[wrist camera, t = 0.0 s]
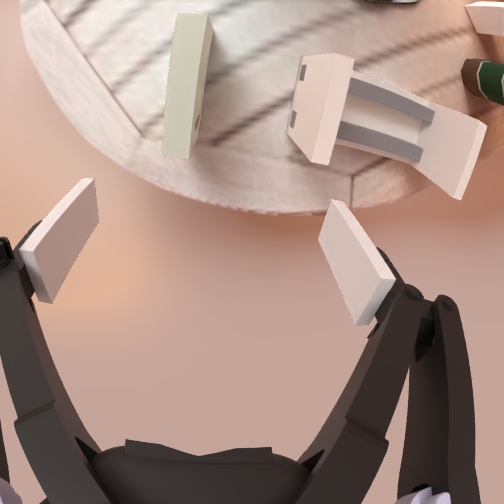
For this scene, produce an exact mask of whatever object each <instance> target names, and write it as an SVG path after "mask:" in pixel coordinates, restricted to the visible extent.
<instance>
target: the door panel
mask: <svg viewBox="0 0 504 504" xmlns="http://www.w3.org/2000/svg"><path fill="white" fill-rule="evenodd" d="M213 31H214V30H213V27H212V24H211V22H210V19H209V16H208V15H207V14H177V19H176V24H175V30H174V36H173V43H172V50H171V57H170V64H169V72H168V81H167V90H166V101H165V112H164V126H163V142H162V158H179V159H189V158H190V155H191V153H192V150H193V148H194V145H195V143H196V140H197V138H198V136H199V130H200V121H201V112H202V104H203V96H204V88H205V81H206V74H207V67H208V61H209V54H210V48H211V42H212V36H213Z"/></svg>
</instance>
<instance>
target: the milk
mask: <svg viewBox="0 0 504 504" xmlns="http://www.w3.org/2000/svg"><path fill="white" fill-rule="evenodd" d="M465 8H466V10H467V12H468V14H469V17H470V19H471V21H472V23H473V25H474V27H475V30H476V32H477V33H482V34H491V35H498V36H504V2H476V3H472V4H469V5H466V6H465Z"/></svg>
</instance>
